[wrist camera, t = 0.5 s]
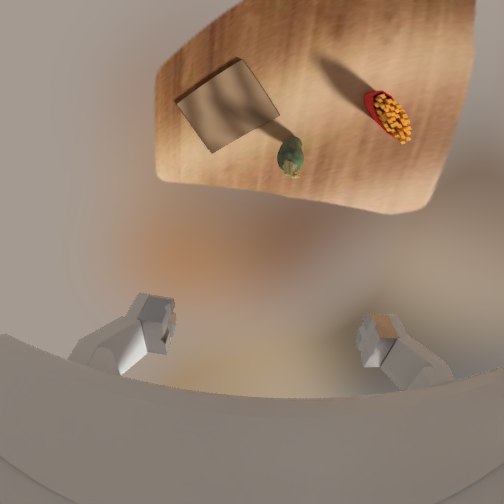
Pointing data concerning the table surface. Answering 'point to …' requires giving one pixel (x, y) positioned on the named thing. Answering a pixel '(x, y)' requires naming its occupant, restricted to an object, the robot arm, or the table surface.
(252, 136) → the table surface
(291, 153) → the vegetable
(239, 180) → the table surface
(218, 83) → the cutting board
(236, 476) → the robot arm
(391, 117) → the french fries
